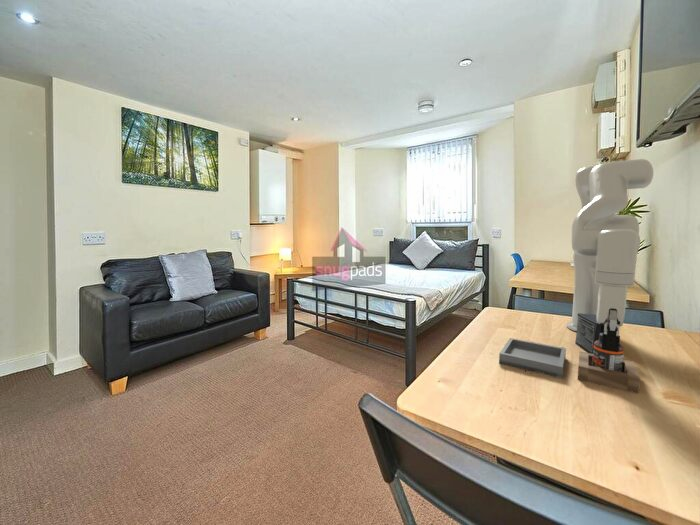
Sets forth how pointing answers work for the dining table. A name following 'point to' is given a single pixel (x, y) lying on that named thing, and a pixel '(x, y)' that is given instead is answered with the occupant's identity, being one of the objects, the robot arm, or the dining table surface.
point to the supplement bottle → (607, 357)
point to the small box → (587, 331)
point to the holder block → (609, 374)
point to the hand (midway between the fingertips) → (608, 344)
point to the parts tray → (533, 357)
